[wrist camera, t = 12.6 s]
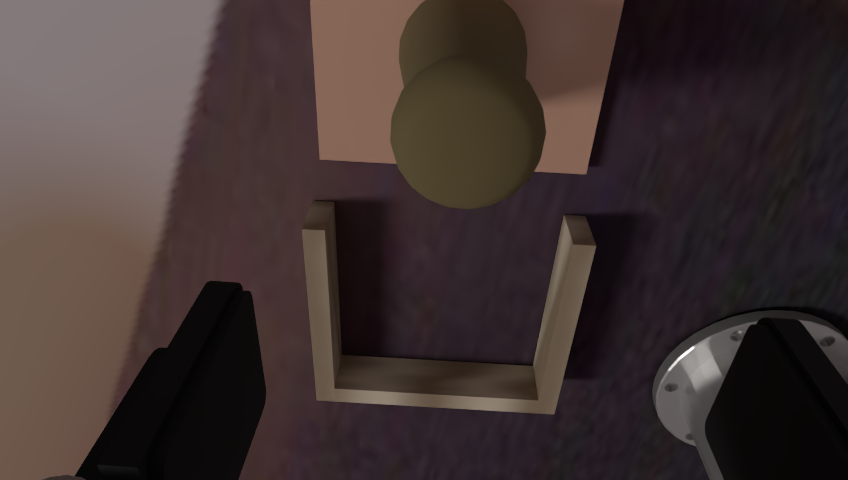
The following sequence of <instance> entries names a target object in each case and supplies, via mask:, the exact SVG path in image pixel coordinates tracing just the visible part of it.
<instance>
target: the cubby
mask: <svg viewBox="0 0 848 480" xmlns="http://www.w3.org/2000/svg"><path fill="white" fill-rule="evenodd" d="M302 236H303V247H304V259H305V270H306V282H307V293H308V305H309V316H310V328H311V339H312V351H313V362H314V374H315V385H316V397H317V400H320V401H337V402H354V403H371V404H388V405H405V406H422V407H439V408H456V409H473V410H490V411H507V412H524V413H541V414H554V413H555V409H556V405H557V401H558V397H559V393H560V389H561V385H562V381H563V377H564V373H565V369H566V365H567V361H568V357H569V353H570V349H571V345H572V341H573V337H574V333H575V329H576V325H577V321H578V317H579V313H580V309H581V305H582V301H583V297H584V293H585V289H586V285H587V281H588V277H589V273H590V269H591V265H592V261H593V257H594V253H595V249H596V244H595V241H594V238H593V236H592V233H591V230H590V227H589V225H588V222H587V219H586V217H585V216H577V215H564V217H563V222H562V227H561V232H560V237H559V242H558V246H557V251H556V256H555V261H554V266H553V271H552V276H551V280H550V285H549V290H548V295H547V300H546V305H545V310H544V315H543V319H542V324H541V329H540V334H539V339H538V344H537V349H536V353H535V358H534V363H533V366H524V365H507V364H490V363H473V362H455V361H438V360H421V359H404V358H387V357H370V356H353V355H342V350H341V329H340V309H339V288H338V268H337V247H336V227H335V207H334V202H328V201H313V202H312V205H311V207H310V210H309V212H308V215H307V218H306V220H305V223H304V225H303V228H302Z"/></svg>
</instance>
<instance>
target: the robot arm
mask: <svg viewBox="0 0 848 480" xmlns="http://www.w3.org/2000/svg"><path fill="white" fill-rule="evenodd" d="M652 394H653V402H654V405H655V408H656V411H657V414H658V416H659V419H660V420H661V422H662V423H663V425H664V426H665V428H666V429H667V430H668V431H670V432H671V433H672V434H673V435H674V436H675V437H677V438H679V439H680V440H682V441H684V442H686V443H689V444H691V445H694V446H696V447H697V449H698V452H699V454H700V457H701V459H702V462H703V464H704V466H705V469H706V471H707V474H708V476H709V478H710V480H848V340H847V339H846V337H845V336H844V335H843V334H842V333H841V331H840V330H838V329H837V328H836V327H834V326H833V325H832V324H830V323H829V322H828V321H825V320H823V319H821V318H818V317H816V316H814V315H810V314H806V313H801V312H797V311H784V310H770V311H758V312H751V313H747V314H742V315H737V316H733V317H730V318H727V319H725V320H722V321H719V322H716V323H714V324H712V325H710V326H708V327H706V328H704V329H702V330H700V331H698V332H696V333H695V334H693V335H692V336H690V337H689V338H687V339H686V340H685V341H683V342H682V343H681V344H679V345H678V346H677V347H676V348H675V349H674V350H673V351H672V352H671V353H670V354H669V355H668V356H667V358H666V359H665V361H664V362H663V363H662V365H661V366H660V368H659V370H658V372H657V374H656V377H655V379H654V384H653V390H652ZM265 399H266V386H265V380H264V373H263V366H262V360H261V353H260V346H259V339H258V333H257V326H256V319H255V312H254V306H253V299H252V294H251V292H250V291H243V288H242V286H241V284H240V283H236V282H221V281H209V282H207V283H206V284H205V286H204V287H203V289H202V291H201V292H200V294H199V296H198V297H197V299H196V301H195V302H194V304H193V306H192V307H191V309H190V311H189V312H188V314H187V316H186V317H185V319H184V321H183V322H182V324H181V326H180V327H179V329H178V331H177V332H176V334H175V336H174V337H173V339H172V341H171V342H170V344H169V346H168V347H167V348H158V349H156V350H155V351H154V352H153V353H152V354H151V355H150V357H149V358H148V360H147V361H146V363H145V364H144V366H143V368H142V369H141V371H140V372H139V374H138V376H137V377H136V379H135V380H134V382H133V384H132V385H131V387H130V388H129V390H128V392H127V393H126V395H125V396H124V398H123V400H122V401H121V403H120V404H119V406H118V408H117V409H116V411H115V412H114V414H113V416H112V417H111V419H110V420H109V422H108V424H107V425H106V427H105V428H104V430H103V432H102V433H101V435H100V436H99V438H98V440H97V441H96V443H95V444H94V446H93V448H92V449H91V451H90V452H89V454H88V456H87V457H86V459H85V460H84V462H83V464H82V465H81V467H80V468H79V470H78V471H77V473H76V475H75V476H70V475H63V476H54V477H49V478H46V479H43V480H238V479H239V476H240V473H241V470H242V468H243V465H244V462H245V459H246V456H247V454H248V451H249V448H250V445H251V442H252V440H253V437H254V434H255V431H256V428H257V426H258V423H259V420H260V417H261V414H262V412H263V409H264V405H265Z"/></svg>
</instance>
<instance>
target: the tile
mask: <svg viewBox="0 0 848 480" xmlns="http://www.w3.org/2000/svg"><path fill="white" fill-rule="evenodd" d="M424 1H425V0H310V8H311V24H312V40H313V57H314V73H315V89H316V105H317V121H318V137H319V154H320V160H338V161H356V162H374V163H392V164H397V163H396V160H395V156H394V153H393V150H392V146H391V143H390V135H391V118H392V114H393V111H394V109H395V106H396V104H397V101H398V99H399V96H400V94H401V91H402V90H403V89H404V85H403V80H402V75H401V69H400V64H399V45H400V38H401V35H402V33H403V30H404V27H405V25H406V22H407V20H408V19H409V17H410V16H411V15H412V14H413V12H414V11H415V10H416V9H417V7H418V6H419V5H420V4H421V3H422V2H424ZM503 1H504V2H505V3H506V4H507V5H508V6H509V7H511V8H512V9H513V10H514V11H515V13H516V15H517V17H518V19H519V21H520V23H521V25H522V27H523V29H524V31H525V37H526V44H527V66H526V79H527V80H528V81H529V82H530V84H531V86H532V88H533V90H534V91H535V93H536V95H537V97H538V99H539V101H540V103H541V105H542V108H543V112H544V119H545V127H546V136H545V141H544V146H543V151H542V155H541V159H540V162H539V164H538V165H537V167H536V169H535V172H553V173H571V174H586V172H587V168H588V163H589V159H590V154H591V150H592V145H593V140H594V136H595V131H596V127H597V122H598V118H599V113H600V109H601V104H602V100H603V95H604V91H605V86H606V81H607V77H608V72H609V68H610V63H611V59H612V54H613V50H614V45H615V41H616V36H617V31H618V27H619V22H620V18H621V13H622V9H623V4H624V0H503Z"/></svg>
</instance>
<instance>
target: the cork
mask: <svg viewBox="0 0 848 480" xmlns="http://www.w3.org/2000/svg"><path fill="white" fill-rule="evenodd" d="M399 64H400V69H401V75H402V80H403V85H404V89H403V90H402V91H401V94H400V96H399V99H398V101H397V104H396V106H395V109H394V111H393V114H392V118H391V135H390V143H391V146H392V150H393V153H394V156H395V160H396V163H397V166H398V168H399V170H400V171H401V173H402V174H403V176H404V177H405V179H406V180H407V181H408V183H409V184H410V186H411V187H412V188H414V189H415V190H416V191H418V192H419V193H420V194H422V195H423V196H424V197H425V198H427V199H428V200H431V201H433V202H436V203H439V204H441V205H444V206H446V207H451V208H463V209H474V208H480V207H485V206H490V205H494V204H496V203H498V202H500V201H502V200H504V199H506V198H508V197H510V196H512V195H513V194H514V193H515V192H517V191H518V190H519V189H520V188H521V187H522V186H523V185H524V184H525V183H526V182H527V181H529V179H530V177H531V176H532V174H533V172H534V171H535V169H536V167H537V165H538V164H539V162H540V159H541V155H542V151H543V146H544V141H545V136H546V127H545V119H544V112H543V108H542V105H541V103H540V101H539V99H538V97H537V95H536V93H535V91H534V90H533V88H532V86H531V84H530V82H529V81H528V80H527V79H526V66H527V44H526V37H525V31H524V29H523V27H522V25H521V23H520V21H519V19H518V17H517V15H516V13H515V11H514V10H513V9H512V8H511V7H509V6H508V5H507V4H506V3H505V2H504V1H503V0H425V1H424V2H422V3H421V4H420V5H419V6H418V7H417V9H416V10H415V11H414V12H413V14H412V15H411V16H410V17H409V19H408V20H407V22H406V25H405V27H404V30H403V33H402V35H401V38H400V45H399Z"/></svg>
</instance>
